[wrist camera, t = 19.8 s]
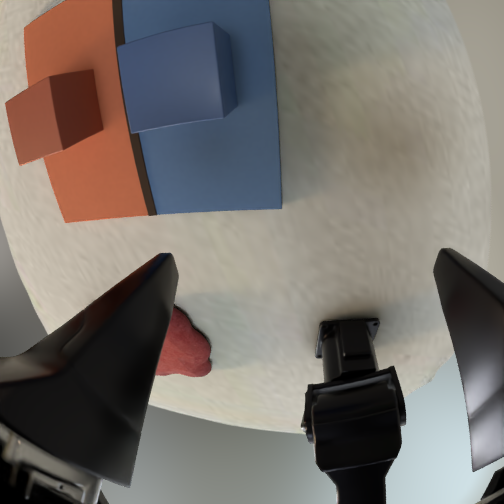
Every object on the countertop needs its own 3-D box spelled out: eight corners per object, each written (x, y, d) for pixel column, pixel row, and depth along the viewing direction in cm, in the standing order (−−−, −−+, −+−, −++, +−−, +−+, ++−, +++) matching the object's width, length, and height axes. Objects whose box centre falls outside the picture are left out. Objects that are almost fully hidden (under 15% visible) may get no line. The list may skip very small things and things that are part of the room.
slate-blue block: (238, 106, 16) (224, 118, 12) (164, 117, 17) (130, 134, 13) (230, 34, 13) (213, 20, 9) (154, 49, 14) (116, 46, 10)
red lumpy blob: (186, 298, 27) (181, 313, 26) (227, 370, 35) (225, 383, 33) (72, 307, 31) (65, 318, 29) (124, 367, 39) (120, 378, 37)
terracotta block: (104, 130, 17) (63, 151, 13) (59, 143, 18) (19, 166, 14) (93, 68, 14) (48, 75, 10) (48, 89, 15) (4, 103, 11)
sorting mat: (281, 205, 21) (281, 210, 20) (68, 220, 23) (64, 223, 22) (262, -56, 9) (261, -59, 8) (28, 27, 11) (22, 27, 11)
